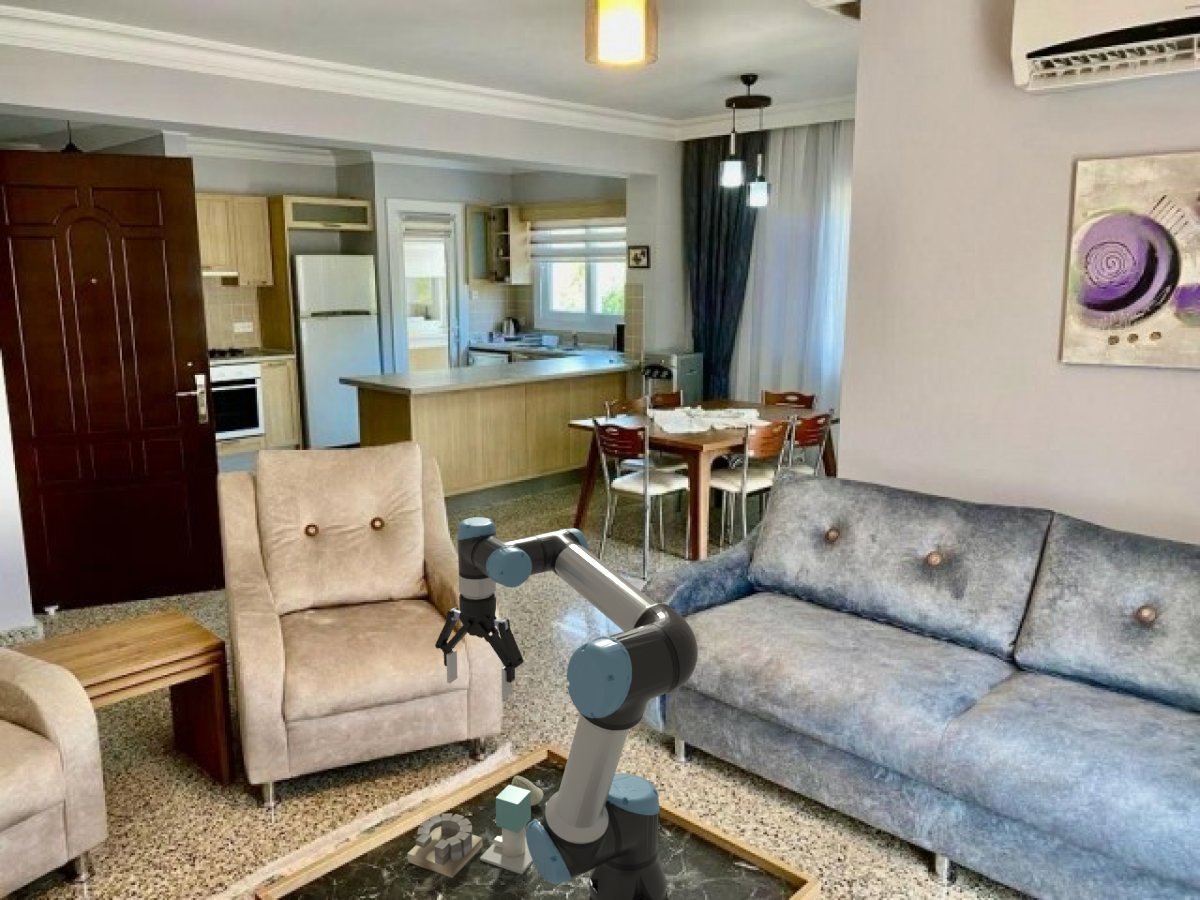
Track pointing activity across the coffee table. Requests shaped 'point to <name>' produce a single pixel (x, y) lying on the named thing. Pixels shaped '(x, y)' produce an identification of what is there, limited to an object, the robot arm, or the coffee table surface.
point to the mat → (507, 859)
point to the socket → (444, 844)
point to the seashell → (528, 785)
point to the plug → (512, 820)
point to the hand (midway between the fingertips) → (479, 687)
